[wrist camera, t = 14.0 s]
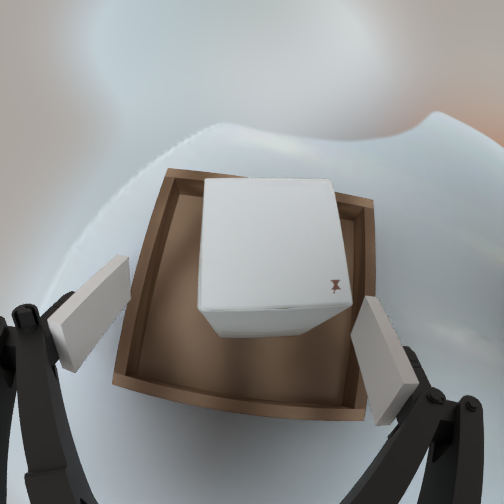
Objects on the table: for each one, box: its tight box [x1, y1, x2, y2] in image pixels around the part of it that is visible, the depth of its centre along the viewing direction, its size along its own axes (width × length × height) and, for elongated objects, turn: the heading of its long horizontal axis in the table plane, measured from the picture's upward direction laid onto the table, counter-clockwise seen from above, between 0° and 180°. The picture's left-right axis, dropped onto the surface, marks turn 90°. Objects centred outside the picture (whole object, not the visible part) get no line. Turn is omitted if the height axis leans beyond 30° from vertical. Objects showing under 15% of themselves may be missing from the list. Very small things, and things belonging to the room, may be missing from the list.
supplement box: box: [197, 178, 353, 338], centre depth 20 cm, size 7×7×13 cm
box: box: [112, 168, 376, 421], centre depth 25 cm, size 20×20×4 cm
